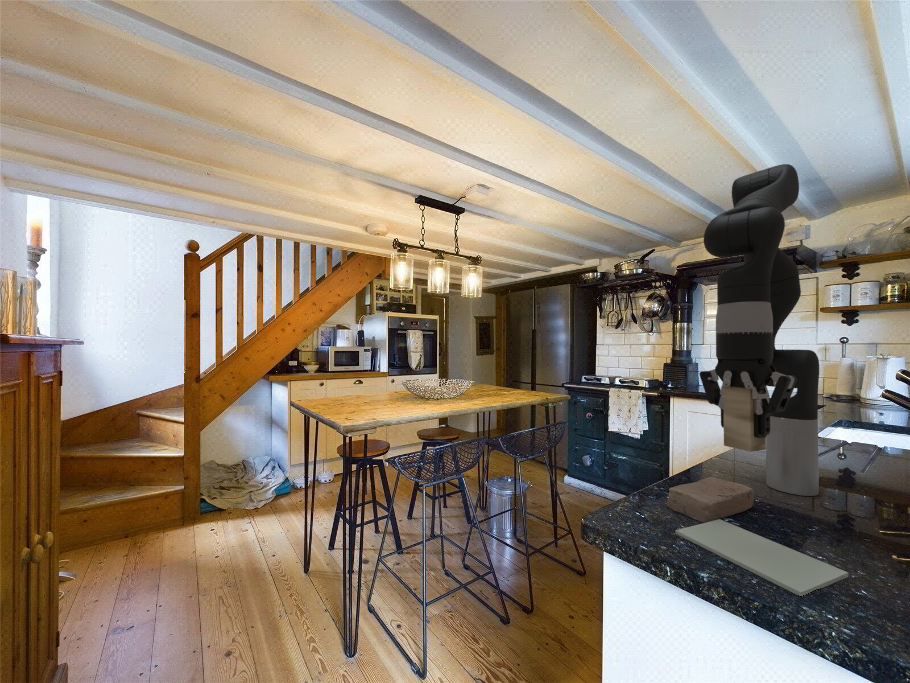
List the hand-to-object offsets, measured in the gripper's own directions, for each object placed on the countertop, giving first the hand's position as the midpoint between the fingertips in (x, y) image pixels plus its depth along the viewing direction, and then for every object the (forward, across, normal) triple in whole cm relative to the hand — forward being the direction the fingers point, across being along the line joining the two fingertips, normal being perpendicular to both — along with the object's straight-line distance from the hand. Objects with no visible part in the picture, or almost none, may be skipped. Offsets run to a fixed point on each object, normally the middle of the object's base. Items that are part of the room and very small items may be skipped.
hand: (744, 433), depth 61 cm
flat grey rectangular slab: (+19, -1, 0) cm, 19 cm away
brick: (+20, +13, -11) cm, 26 cm away
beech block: (+2, 0, 0) cm, 2 cm away
